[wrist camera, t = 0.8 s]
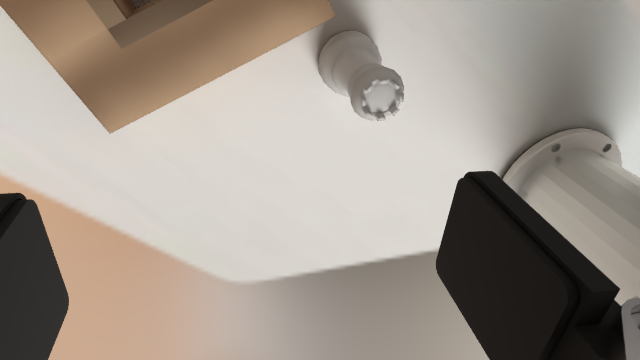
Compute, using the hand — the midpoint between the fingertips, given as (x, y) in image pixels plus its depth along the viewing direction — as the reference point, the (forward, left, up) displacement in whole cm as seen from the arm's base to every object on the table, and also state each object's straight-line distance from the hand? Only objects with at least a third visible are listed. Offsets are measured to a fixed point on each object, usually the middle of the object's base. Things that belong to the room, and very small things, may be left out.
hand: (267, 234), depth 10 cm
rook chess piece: (-5, -6, -22) cm, 23 cm away
